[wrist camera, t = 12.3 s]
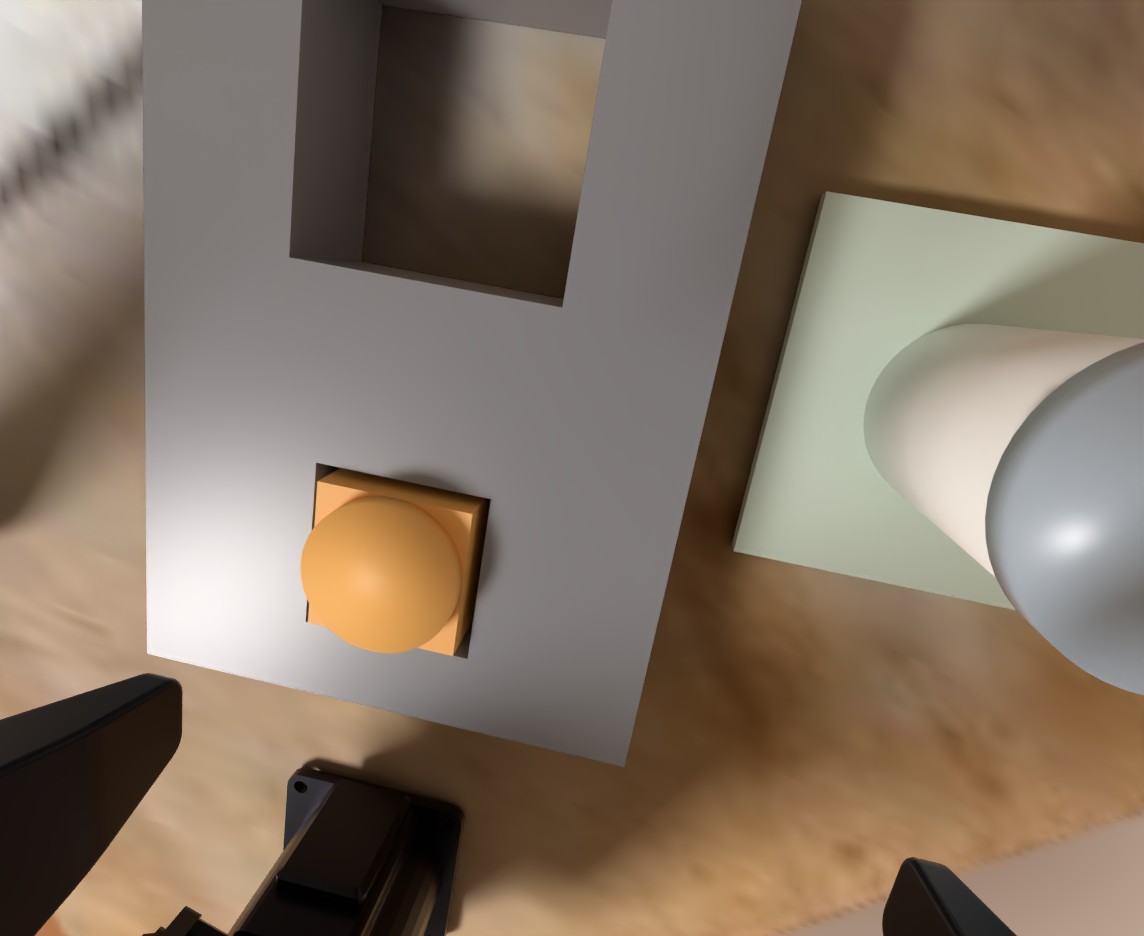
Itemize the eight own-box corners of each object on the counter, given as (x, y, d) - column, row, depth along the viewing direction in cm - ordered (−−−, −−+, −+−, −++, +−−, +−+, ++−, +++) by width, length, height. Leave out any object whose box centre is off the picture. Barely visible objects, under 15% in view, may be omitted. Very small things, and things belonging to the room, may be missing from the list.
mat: (1074, 615, 20) (1086, 624, 19) (731, 543, 21) (733, 551, 20) (1225, 260, 17) (1244, 260, 16) (821, 194, 18) (826, 191, 17)
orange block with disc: (490, 589, 22) (445, 668, 17) (370, 563, 22) (296, 633, 18) (508, 470, 20) (465, 522, 16) (381, 444, 21) (305, 487, 16)
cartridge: (1032, 533, 19) (1342, 738, 10) (832, 493, 19) (965, 657, 11) (1105, 335, 17) (1541, 376, 9) (888, 298, 18) (1093, 304, 9)
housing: (631, 684, 22) (624, 767, 19) (231, 593, 24) (147, 653, 20) (789, -14, 17) (825, -102, 13) (253, -89, 18) (140, -190, 14)
